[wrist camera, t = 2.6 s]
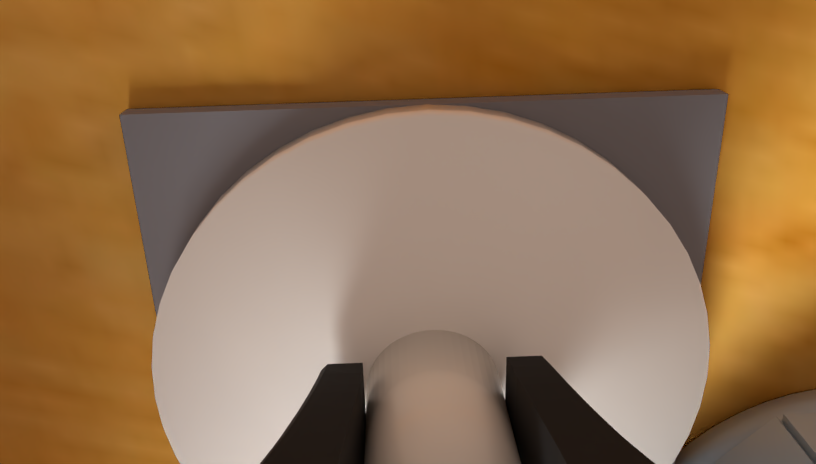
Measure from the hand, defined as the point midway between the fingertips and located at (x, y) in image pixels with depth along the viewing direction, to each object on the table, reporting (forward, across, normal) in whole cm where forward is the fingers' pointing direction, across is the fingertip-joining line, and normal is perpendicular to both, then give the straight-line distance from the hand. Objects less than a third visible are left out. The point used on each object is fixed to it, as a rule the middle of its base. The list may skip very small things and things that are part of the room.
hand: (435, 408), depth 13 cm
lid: (+1, 0, 0) cm, 1 cm away
